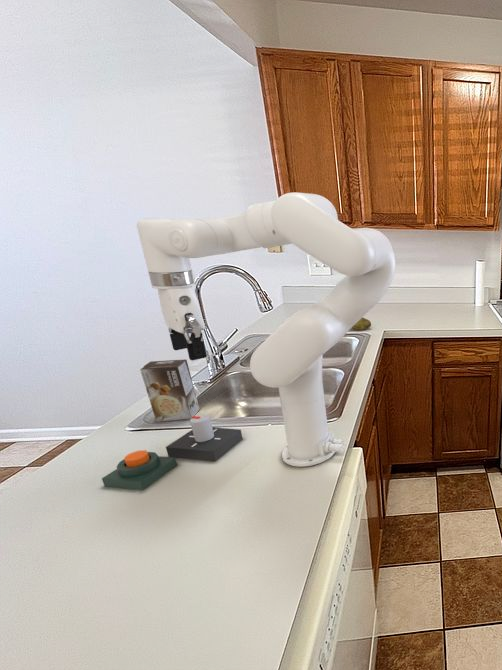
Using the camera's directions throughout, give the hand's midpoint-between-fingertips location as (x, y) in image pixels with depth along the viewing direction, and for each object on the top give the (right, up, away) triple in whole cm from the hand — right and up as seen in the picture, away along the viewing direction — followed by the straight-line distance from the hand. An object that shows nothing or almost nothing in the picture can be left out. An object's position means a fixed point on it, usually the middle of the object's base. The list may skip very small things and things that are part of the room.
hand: (190, 353), depth 91 cm
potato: (+5, +18, +107) cm, 108 cm away
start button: (-9, -24, -4) cm, 26 cm away
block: (-9, -28, -3) cm, 29 cm away
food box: (-20, -18, +23) cm, 35 cm away
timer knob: (-1, -21, +7) cm, 22 cm away
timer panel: (-2, -24, +8) cm, 25 cm away
